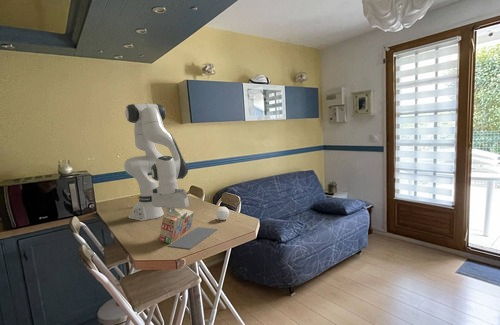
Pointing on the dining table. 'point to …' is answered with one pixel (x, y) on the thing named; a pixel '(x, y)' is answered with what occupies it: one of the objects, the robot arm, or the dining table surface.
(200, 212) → the dining table surface
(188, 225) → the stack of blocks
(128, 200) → the dining table surface
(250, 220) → the dining table surface
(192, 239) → the mat
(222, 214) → the geometric ball
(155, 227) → the dining table surface
